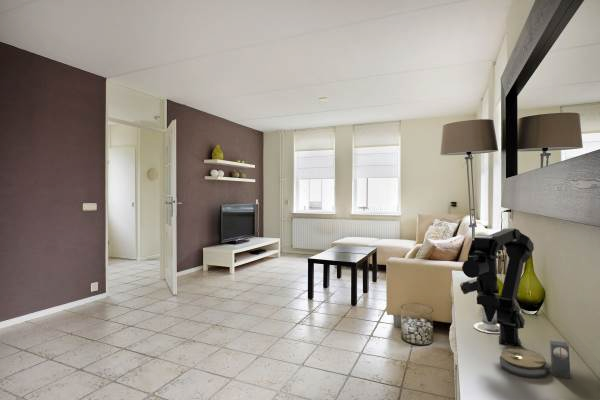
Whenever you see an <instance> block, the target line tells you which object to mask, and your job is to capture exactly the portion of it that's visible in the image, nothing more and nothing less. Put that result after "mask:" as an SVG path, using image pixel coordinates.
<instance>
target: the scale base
mask: <svg viewBox="0 0 600 400" xmlns="http://www.w3.org/2000/svg"><path fill="white" fill-rule="evenodd" d="M549 347H550V362H551V363H550V365H551V373H552V376H553V377H559V378H564V379H565V378H566V379H572V378H571V376H572V375H571V362H570V347H569V344H568V343H567V342H565V341H557V340H549ZM499 365H500V366H499V367H500V368H502V369H503V370H504V371H505V372H507V373H509V374H511V375H514V376H517V377H522V378H526V379H544V378H546V377H548V376H549V374H550V368H549V363H548V362H547V361H546V365H545V366H544V367H542V368H537V369H530V368H523V367H518V366H515V365H512V364H510V363H508V362H506V361H505V360H503V358H502V354H501V355H500V356H499Z"/></svg>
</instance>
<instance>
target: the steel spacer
mask: <svg viewBox="0 0 600 400" xmlns="http://www.w3.org/2000/svg"><path fill="white" fill-rule="evenodd" d="M481 315H482V316H481V321H482V322H483V323H485V324H488V325H496V324H497V310H496V312H495V315H494V317H493V319H492V322H488V321H487V317H486V314H485V310H484V307H483V306H482V305H481Z"/></svg>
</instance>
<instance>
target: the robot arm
mask: <svg viewBox="0 0 600 400" xmlns="http://www.w3.org/2000/svg"><path fill="white" fill-rule="evenodd" d="M501 246H503V247H504V248H505V252H506V253H505V254H506V255H507V258H508V262H507V266H506V270H505V271H506V272H505V275H504V281H503V284H502V290H501V293H500V287H499V286H498V272H497V271H498V270H497V259H498V258H499V255H497V254H498V252H499V251H500V250H501ZM534 250H535V247H534V243H533V241H532V240H531V239H530V237H529V236H527V235H525V234H523V233H522V232H521V231H520V229H517V228H510V227H509V228H507V227H504V228H502V229H501V230H499V231H497V232H494V233H491V234H488V235H486V234H485V235H474V237H473V238H472V240H471V243H470V247H469V250H468V251H467V252H468V253H467V260H465V261H464V262H463V263H462V266H461V270H462V272H463V274H464V275H465V276H466V277H468V278H470V280H466V281H462V282H460V284H459V286H460V290H461V291H462V294H463V295H467V294H468V293H472V292H473V293H474V292H476V293H478V294H477V295H476V304H477V305H480V306H481V307H482V306H483V307H484V310H485V314H486V317H487V321H488V322H492V319H493V317H494V315H495V312H496V310H497V324H499V327H498V328H499V332H500V333H499V335H498V343H499V344H501V345H508V346H517V347H521V339H520V338H519V337H520V336H519V329H524V327H525V322H526V321H525V319H524V317H523V316H522V314H521V312H520V311H521V308H520V306H519V303H518V301H517V298H518V294H519V293H518V292H519V288H520V284H521V283H520V282H521V279H522V275H523V274H522V273H523V270H524V269H523V268H524V264H525V263H526V262H527V261H528V260H529V259H530V258H531V257H532V253H533V251H534ZM499 294H500V295H499Z"/></svg>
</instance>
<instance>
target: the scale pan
mask: <svg viewBox="0 0 600 400" xmlns="http://www.w3.org/2000/svg"><path fill="white" fill-rule="evenodd" d="M501 355H502V358H503V360H505V361H506V362H508V363H510V364H512V365H515V366H518V367H523V368H530V369H537V368H542V367H544V366H545V365H546V362H547V360H546V358H545V356H543V355H542V354H540V353H538V352H535V351H532V350H527V349H522V348H506V349H504V350H502V352H501Z"/></svg>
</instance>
